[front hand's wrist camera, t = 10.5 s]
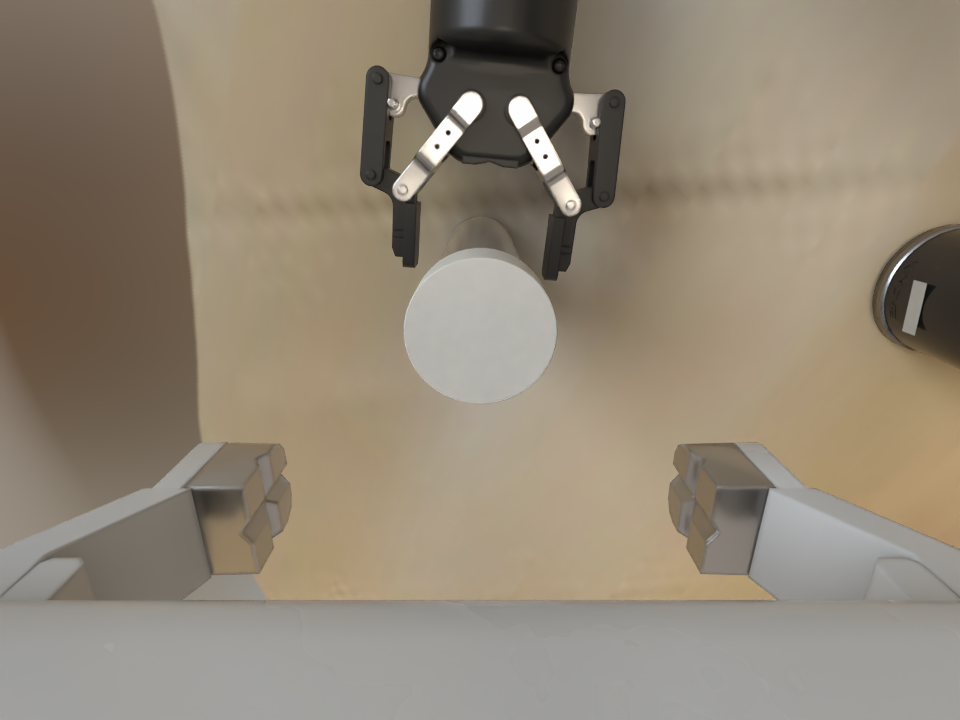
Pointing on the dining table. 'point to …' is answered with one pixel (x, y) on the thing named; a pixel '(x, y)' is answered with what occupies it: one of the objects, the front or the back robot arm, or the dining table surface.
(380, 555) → the dining table surface
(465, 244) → the dark grey piece
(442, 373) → the lid
